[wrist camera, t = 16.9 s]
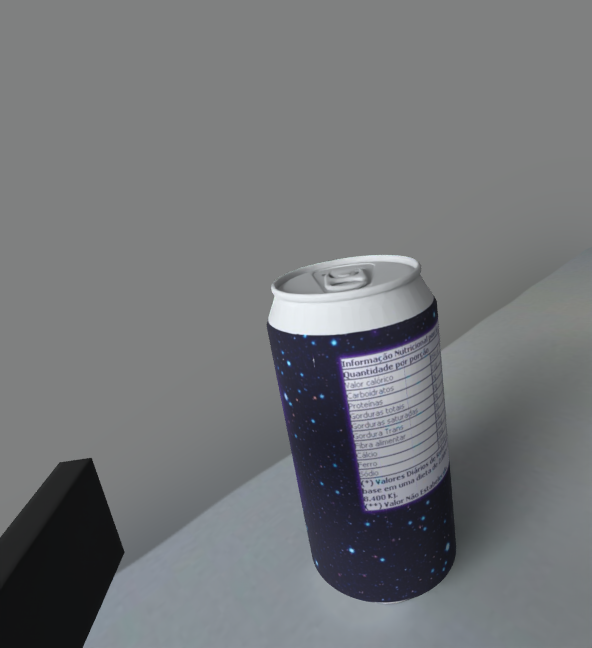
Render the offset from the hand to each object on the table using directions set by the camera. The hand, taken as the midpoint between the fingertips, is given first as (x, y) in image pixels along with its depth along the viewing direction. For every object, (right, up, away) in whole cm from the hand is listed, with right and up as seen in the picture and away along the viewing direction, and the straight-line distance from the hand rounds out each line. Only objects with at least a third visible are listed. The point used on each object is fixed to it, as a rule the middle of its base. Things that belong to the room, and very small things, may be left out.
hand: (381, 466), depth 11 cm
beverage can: (+2, -6, +9) cm, 11 cm away
